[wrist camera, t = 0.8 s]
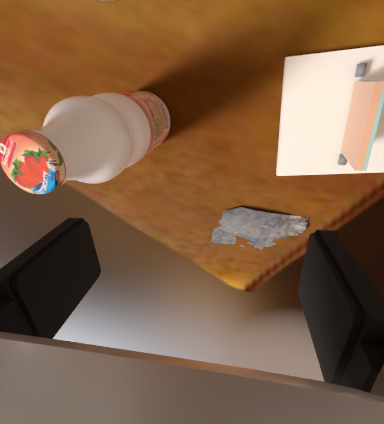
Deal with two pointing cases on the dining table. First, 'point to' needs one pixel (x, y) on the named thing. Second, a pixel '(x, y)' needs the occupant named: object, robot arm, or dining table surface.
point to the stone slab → (257, 227)
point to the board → (324, 111)
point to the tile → (362, 122)
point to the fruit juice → (86, 140)
